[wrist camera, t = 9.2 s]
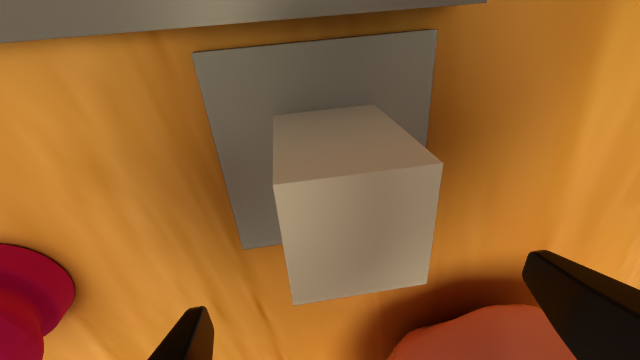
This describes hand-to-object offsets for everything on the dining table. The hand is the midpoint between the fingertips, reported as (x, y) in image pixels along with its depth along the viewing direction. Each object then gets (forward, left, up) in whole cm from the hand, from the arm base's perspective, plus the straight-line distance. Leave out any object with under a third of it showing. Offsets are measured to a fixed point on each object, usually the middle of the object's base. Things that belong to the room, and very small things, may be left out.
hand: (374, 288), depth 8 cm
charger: (0, 0, -9) cm, 9 cm away
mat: (0, 0, -9) cm, 9 cm away
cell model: (-10, +19, -10) cm, 23 cm away
